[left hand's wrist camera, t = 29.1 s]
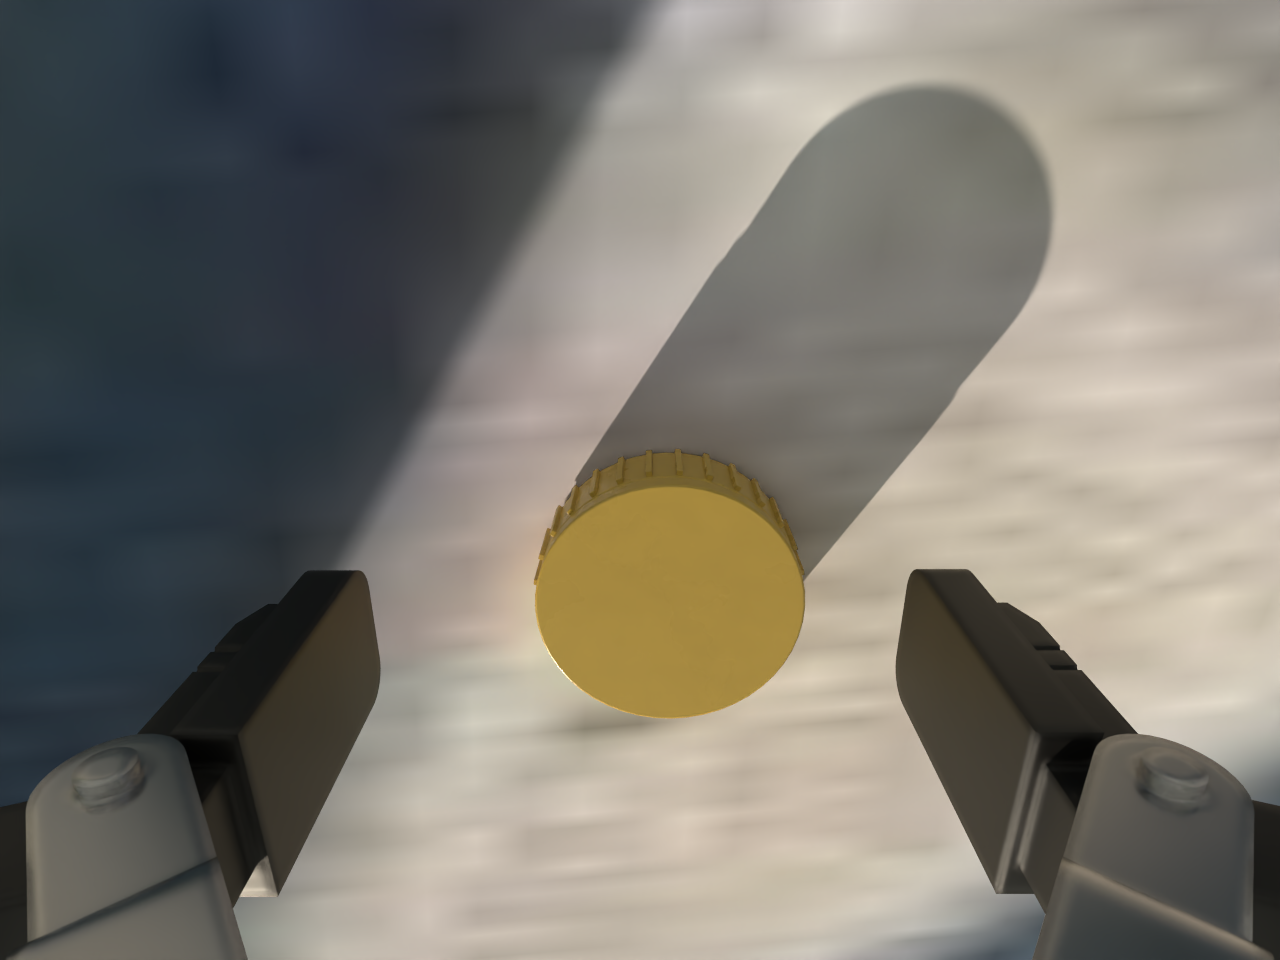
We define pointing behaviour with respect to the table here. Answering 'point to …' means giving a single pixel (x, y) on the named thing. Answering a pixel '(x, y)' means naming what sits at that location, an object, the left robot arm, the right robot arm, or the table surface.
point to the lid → (669, 586)
